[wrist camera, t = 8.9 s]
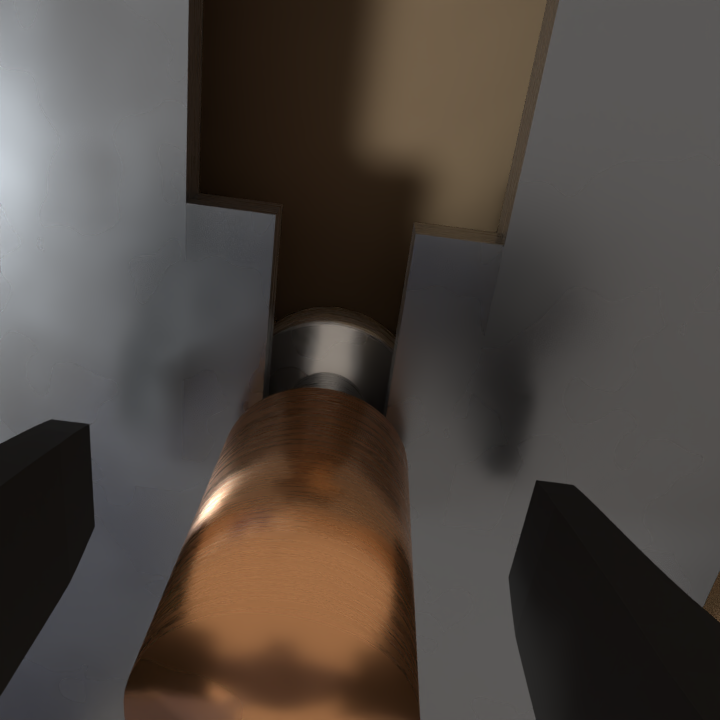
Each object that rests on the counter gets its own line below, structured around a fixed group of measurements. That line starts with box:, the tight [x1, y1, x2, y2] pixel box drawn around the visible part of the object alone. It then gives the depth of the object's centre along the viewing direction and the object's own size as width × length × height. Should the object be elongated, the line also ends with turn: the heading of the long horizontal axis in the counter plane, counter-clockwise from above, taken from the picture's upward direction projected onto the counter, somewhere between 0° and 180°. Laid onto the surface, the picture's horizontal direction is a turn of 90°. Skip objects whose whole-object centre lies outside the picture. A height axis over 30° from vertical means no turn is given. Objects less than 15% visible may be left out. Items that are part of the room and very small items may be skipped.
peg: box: [123, 307, 420, 720], centre depth 11 cm, size 4×4×8 cm
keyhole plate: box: [0, 0, 720, 720], centre depth 12 cm, size 24×16×2 cm, turn 173°
